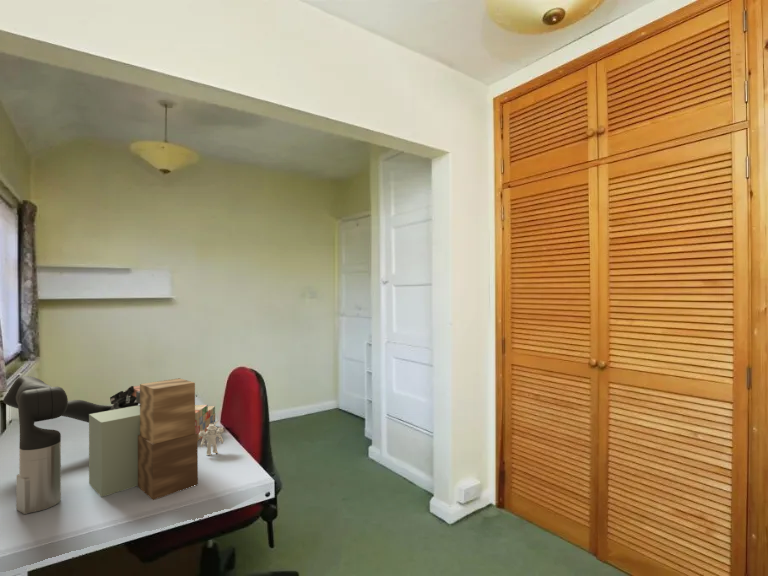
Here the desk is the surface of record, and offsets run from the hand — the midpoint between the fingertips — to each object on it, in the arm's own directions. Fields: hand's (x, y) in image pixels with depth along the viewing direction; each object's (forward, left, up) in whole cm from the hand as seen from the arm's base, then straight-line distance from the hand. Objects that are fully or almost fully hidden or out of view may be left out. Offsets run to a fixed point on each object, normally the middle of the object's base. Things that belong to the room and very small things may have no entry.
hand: (138, 387), depth 151 cm
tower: (-5, -27, -27) cm, 38 cm away
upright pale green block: (-6, -12, -27) cm, 30 cm away
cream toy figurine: (+19, -15, -27) cm, 36 cm away
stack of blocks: (+32, +11, -27) cm, 43 cm away
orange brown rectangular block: (-1, -7, -3) cm, 7 cm away
